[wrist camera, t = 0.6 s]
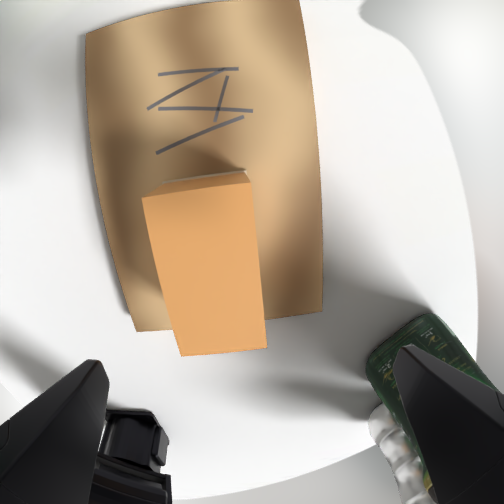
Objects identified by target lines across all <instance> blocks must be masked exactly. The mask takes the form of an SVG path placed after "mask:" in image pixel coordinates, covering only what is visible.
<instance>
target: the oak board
mask: <svg viewBox="0 0 504 504" xmlns="http://www.w3.org/2000/svg"><path fill="white" fill-rule="evenodd" d="M85 74H86V98H87V113H88V124H89V134H90V143H91V151H92V158H93V165H94V171H95V177H96V183H97V189H98V194H99V200H100V205H101V209H102V214H103V219H104V223H105V228H106V232H107V236H108V240H109V244H110V248H111V252H112V256H113V259H114V263H115V267H116V270H117V274H118V277H119V280H120V284H121V287H122V290H123V293H124V297H125V300H126V303H127V306H128V309H129V312H130V315H131V318H132V320H133V323H134V326H135V329H136V331H137V332H144V331H160V330H173V328H172V325H171V322H170V318H169V315H168V311H167V308H166V304H165V300H164V297H163V293H162V289H161V285H160V281H159V277H158V273H157V269H156V265H155V261H154V256H153V252H152V248H151V243H150V238H149V234H148V229H147V224H146V219H145V214H144V208H143V203H142V197H144V196H145V195H147V194H148V193H150V192H152V191H153V190H155V189H156V188H158V187H159V186H161V185H163V184H162V182H163V181H169V180H175V179H182V178H188V177H195V176H202V175H209V174H217V173H225V172H233V171H242V170H246V171H247V177H248V178H249V180H250V182H251V187H252V197H253V207H254V217H255V227H256V237H257V247H258V257H259V267H260V277H261V288H262V298H263V308H264V319H265V320H268V319H276V318H283V317H289V316H296V315H302V314H309V313H315V312H321V311H322V296H323V236H322V202H321V180H320V164H319V149H318V136H317V125H316V114H315V105H314V95H313V87H312V78H311V71H310V63H309V56H308V49H307V43H306V36H305V30H304V24H303V19H302V13H301V8H300V2H299V0H231V1H220V2H211V3H203V4H196V5H189V6H183V7H178V8H172V9H168V10H163V11H158V12H154V13H150V14H146V15H142V16H138V17H135V18H131V19H128V20H124V21H121V22H118V23H115V24H112V25H109V26H106V27H103V28H100V29H97V30H95V31H92V32H89V33H87V34H86V45H85Z"/></svg>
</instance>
